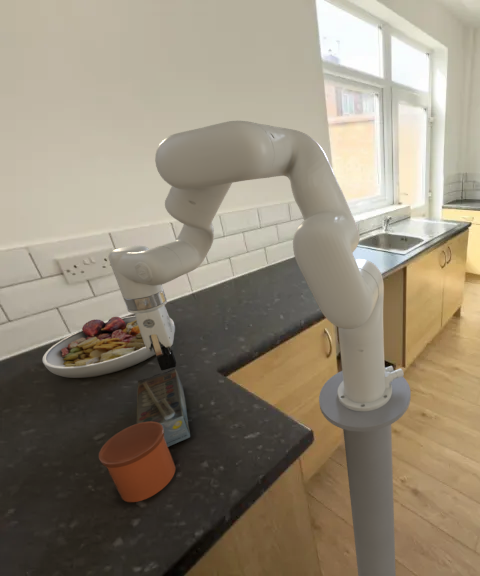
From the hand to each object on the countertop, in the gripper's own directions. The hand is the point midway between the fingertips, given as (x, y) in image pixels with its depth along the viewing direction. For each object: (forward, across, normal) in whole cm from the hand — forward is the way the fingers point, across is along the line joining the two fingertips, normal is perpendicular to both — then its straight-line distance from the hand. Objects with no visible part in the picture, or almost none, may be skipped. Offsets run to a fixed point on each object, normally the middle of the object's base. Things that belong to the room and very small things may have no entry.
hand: (169, 366), depth 80 cm
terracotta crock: (+4, -30, +2) cm, 31 cm away
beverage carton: (+4, -15, +1) cm, 15 cm away
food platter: (+4, +25, +15) cm, 29 cm away
